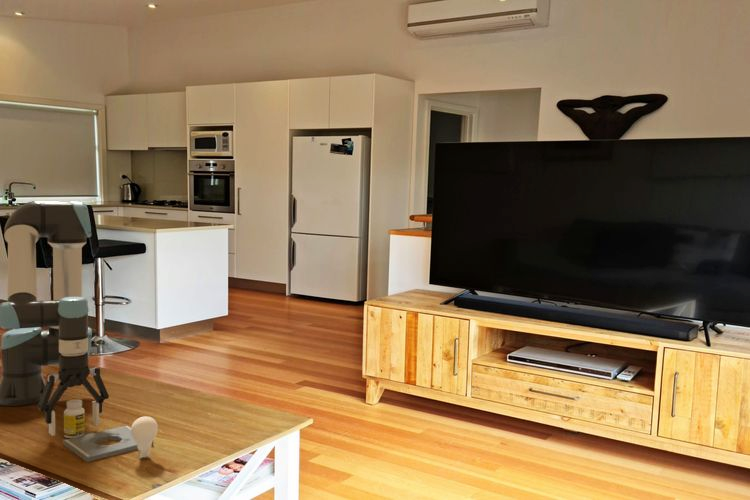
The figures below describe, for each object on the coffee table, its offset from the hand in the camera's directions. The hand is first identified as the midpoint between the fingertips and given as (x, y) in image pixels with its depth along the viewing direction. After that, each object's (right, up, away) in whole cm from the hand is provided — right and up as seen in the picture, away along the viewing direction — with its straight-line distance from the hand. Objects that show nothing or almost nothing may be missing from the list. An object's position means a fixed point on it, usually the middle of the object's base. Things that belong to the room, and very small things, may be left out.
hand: (74, 429), depth 191 cm
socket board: (+12, -3, -6) cm, 14 cm away
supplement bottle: (0, -2, 0) cm, 2 cm away
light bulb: (+25, -4, -15) cm, 29 cm away
